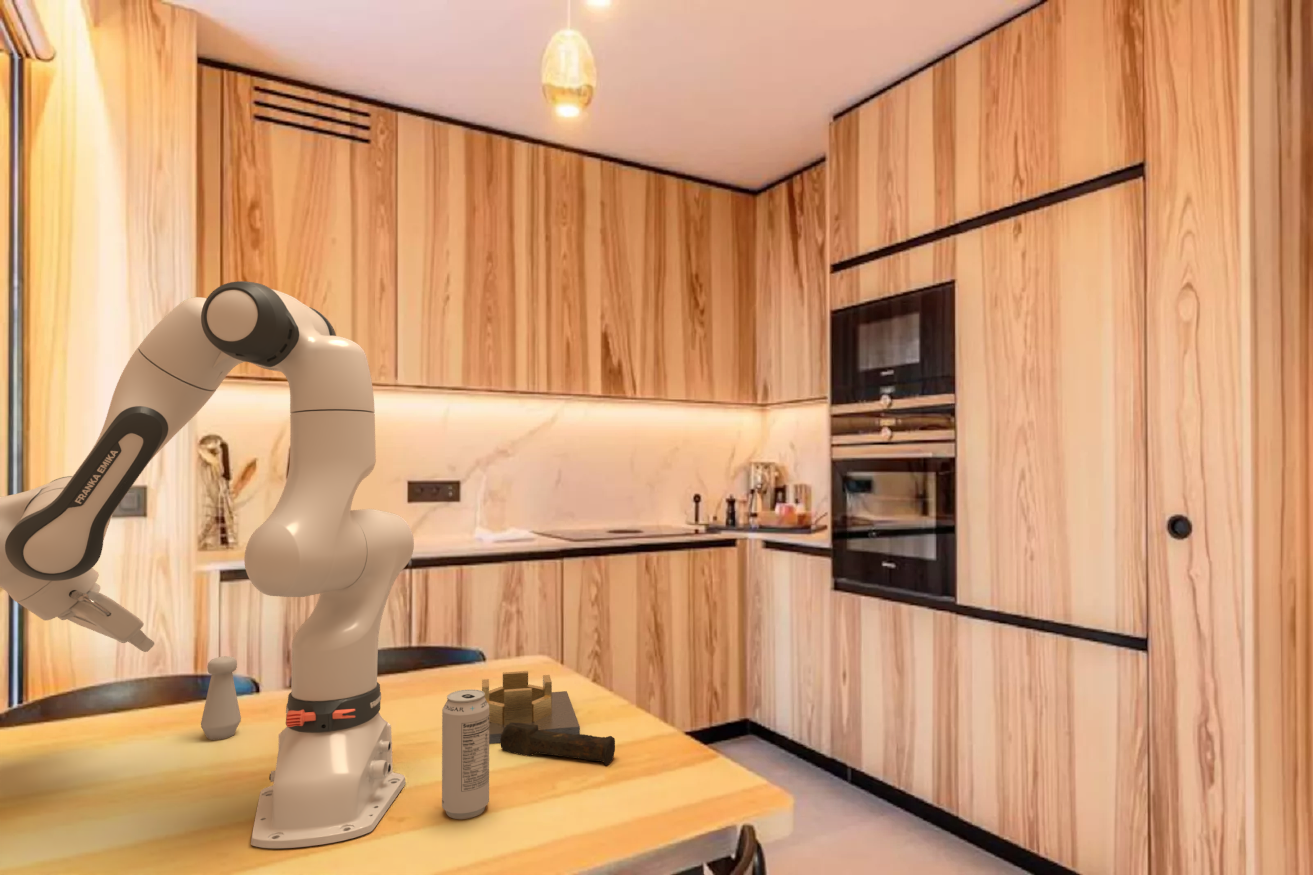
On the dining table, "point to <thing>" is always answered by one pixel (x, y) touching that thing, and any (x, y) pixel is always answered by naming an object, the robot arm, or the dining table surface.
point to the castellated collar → (528, 706)
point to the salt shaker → (221, 700)
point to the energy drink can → (465, 754)
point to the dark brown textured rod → (556, 743)
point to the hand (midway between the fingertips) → (138, 643)
